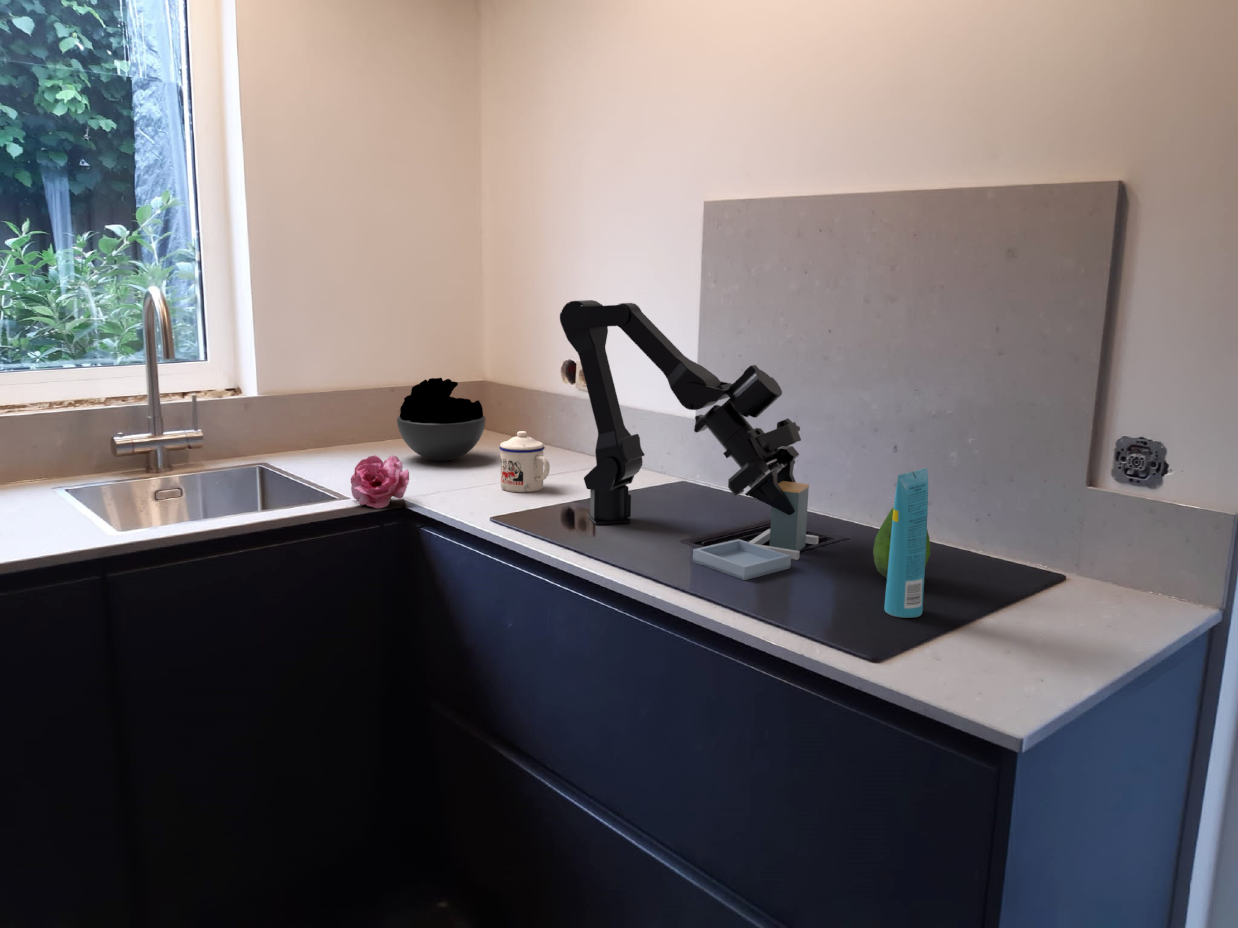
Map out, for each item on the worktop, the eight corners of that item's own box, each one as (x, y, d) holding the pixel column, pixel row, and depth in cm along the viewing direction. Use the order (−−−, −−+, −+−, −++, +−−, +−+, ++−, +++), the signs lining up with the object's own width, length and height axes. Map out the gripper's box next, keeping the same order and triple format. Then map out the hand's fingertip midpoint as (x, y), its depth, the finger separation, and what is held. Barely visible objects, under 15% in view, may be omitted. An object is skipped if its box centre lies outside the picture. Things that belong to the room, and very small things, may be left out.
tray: (692, 561, 148) (693, 549, 147) (738, 551, 154) (738, 539, 153) (744, 580, 139) (744, 567, 139) (790, 568, 145) (791, 555, 145)
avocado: (919, 593, 135) (926, 510, 133) (864, 582, 139) (870, 502, 137) (933, 578, 142) (940, 499, 139) (881, 569, 146) (887, 492, 143)
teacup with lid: (490, 488, 195) (489, 431, 192) (522, 481, 201) (522, 426, 199) (532, 497, 187) (532, 439, 185) (564, 490, 194) (564, 433, 192)
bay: (745, 551, 154) (745, 544, 153) (768, 535, 163) (768, 528, 163) (797, 559, 150) (797, 552, 149) (818, 543, 159) (818, 536, 159)
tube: (897, 601, 132) (908, 464, 128) (931, 609, 128) (943, 469, 125) (873, 615, 126) (884, 472, 122) (908, 624, 123) (920, 478, 119)
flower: (384, 527, 176) (350, 486, 172) (367, 519, 185) (334, 480, 181) (430, 486, 180) (398, 446, 176) (411, 480, 189) (380, 441, 185)
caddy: (769, 549, 155) (772, 486, 153) (779, 542, 159) (782, 480, 157) (795, 553, 153) (799, 489, 151) (805, 546, 157) (808, 484, 155)
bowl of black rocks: (455, 449, 236) (454, 372, 232) (502, 461, 221) (502, 380, 217) (381, 458, 222) (379, 377, 218) (427, 472, 208) (425, 386, 204)
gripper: (750, 411, 145) (817, 490, 142) (790, 398, 161) (850, 469, 158) (701, 456, 150) (764, 534, 147) (744, 439, 167) (802, 509, 164)
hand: (797, 509), depth 154 cm, fingers closed on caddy, 5 cm apart
